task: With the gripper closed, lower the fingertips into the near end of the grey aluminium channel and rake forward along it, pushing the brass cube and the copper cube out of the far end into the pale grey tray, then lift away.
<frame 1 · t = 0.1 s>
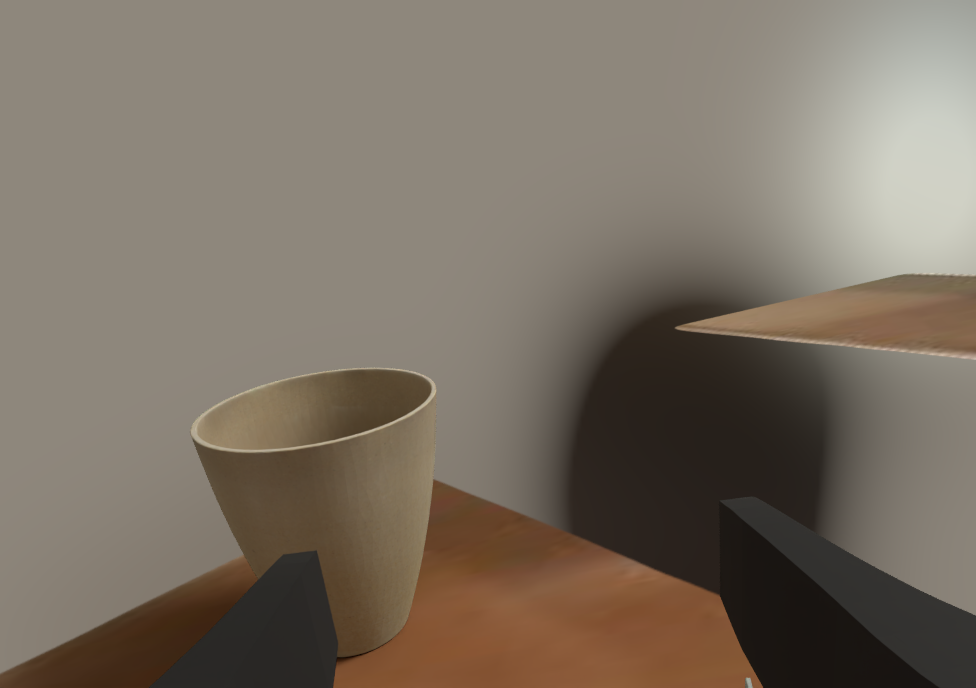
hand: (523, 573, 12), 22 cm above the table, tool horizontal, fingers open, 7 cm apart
plant pot: (359, 623, 46), on the table
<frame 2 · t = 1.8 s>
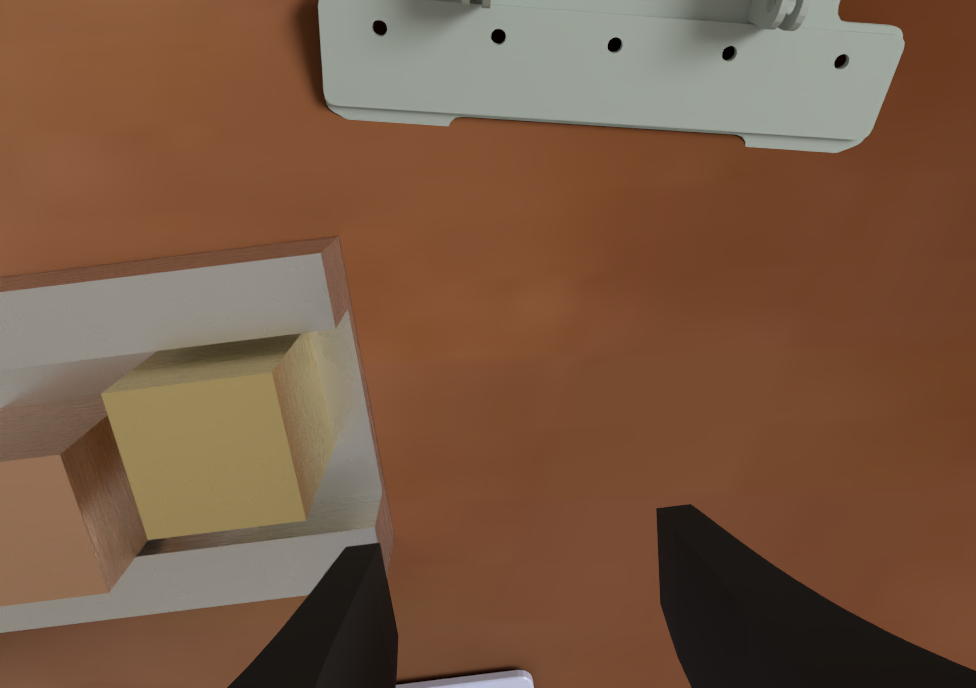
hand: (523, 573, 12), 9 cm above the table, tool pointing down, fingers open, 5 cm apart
aluminium channel: (175, 420, 21), on the table
copper cube: (89, 459, 21), point 1 cm above the table, touching aluminium channel
brass cube: (255, 395, 20), point 1 cm above the table, touching aluminium channel
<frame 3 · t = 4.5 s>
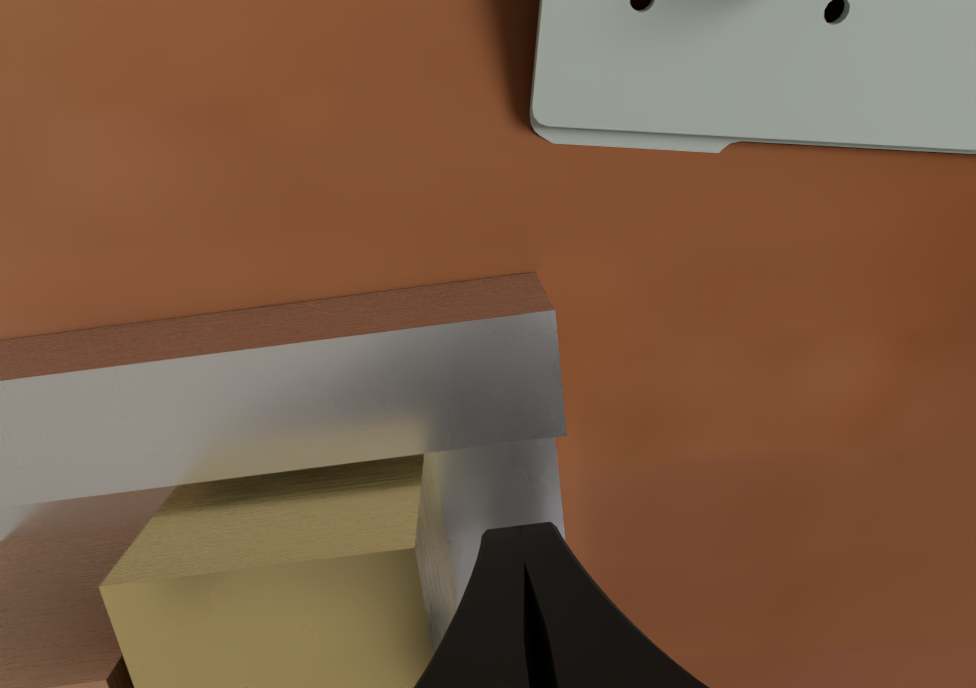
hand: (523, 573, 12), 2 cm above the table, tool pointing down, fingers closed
aluminium channel: (266, 549, 14), on the table
copper cube: (136, 614, 13), point 1 cm above the table, touching aluminium channel
brass cube: (339, 524, 13), point 1 cm above the table, touching gripper
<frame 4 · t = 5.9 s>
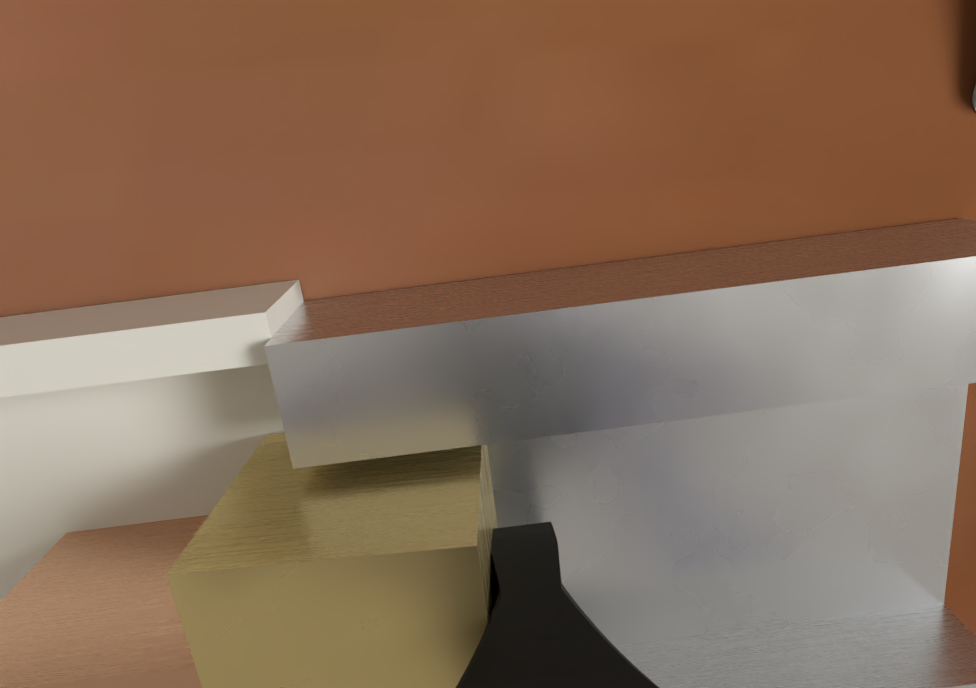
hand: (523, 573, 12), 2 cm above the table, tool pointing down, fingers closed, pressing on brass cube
tray: (353, 537, 14), on the table
aluminium channel: (645, 500, 14), on the table
copper cube: (196, 605, 14), resting on tray, touching brass cube
brass cube: (391, 518, 13), point 1 cm above the table, touching aluminium channel, copper cube, gripper
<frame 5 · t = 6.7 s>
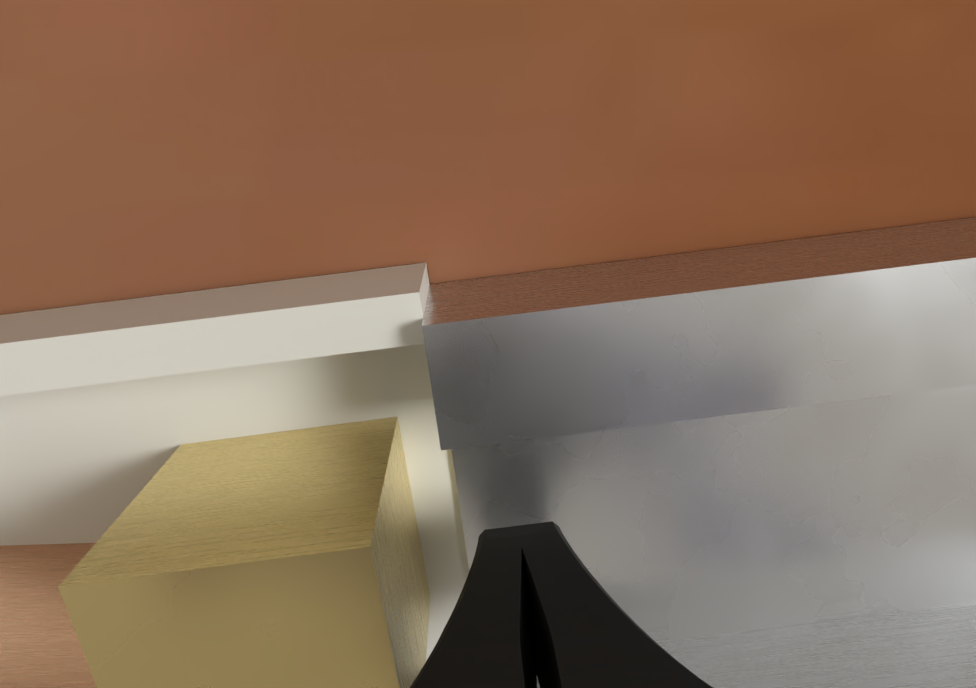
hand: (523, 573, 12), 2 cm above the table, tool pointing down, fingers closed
tray: (464, 523, 14), on the table
aluminium channel: (758, 487, 14), on the table
copper cube: (120, 627, 14), resting on tray
brass cube: (311, 524, 13), resting on tray
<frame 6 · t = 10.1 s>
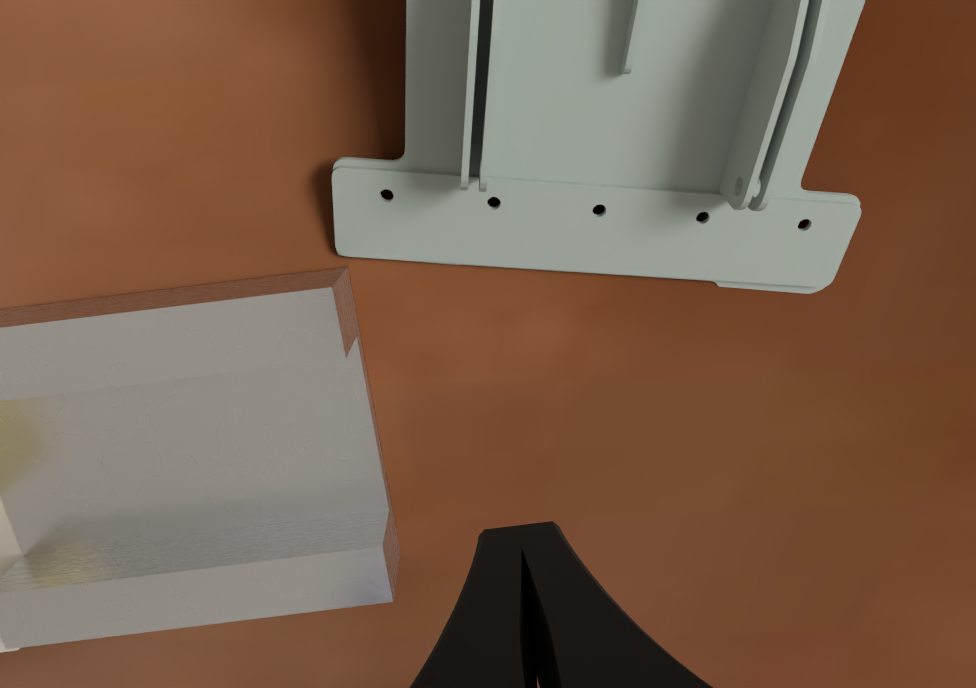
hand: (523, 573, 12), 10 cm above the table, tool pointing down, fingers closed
tray: (4, 464, 22), on the table
aluminium channel: (190, 441, 22), on the table
metal bracket: (607, 54, 19), on the table
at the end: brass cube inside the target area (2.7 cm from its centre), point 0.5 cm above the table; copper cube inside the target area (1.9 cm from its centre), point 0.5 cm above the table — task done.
